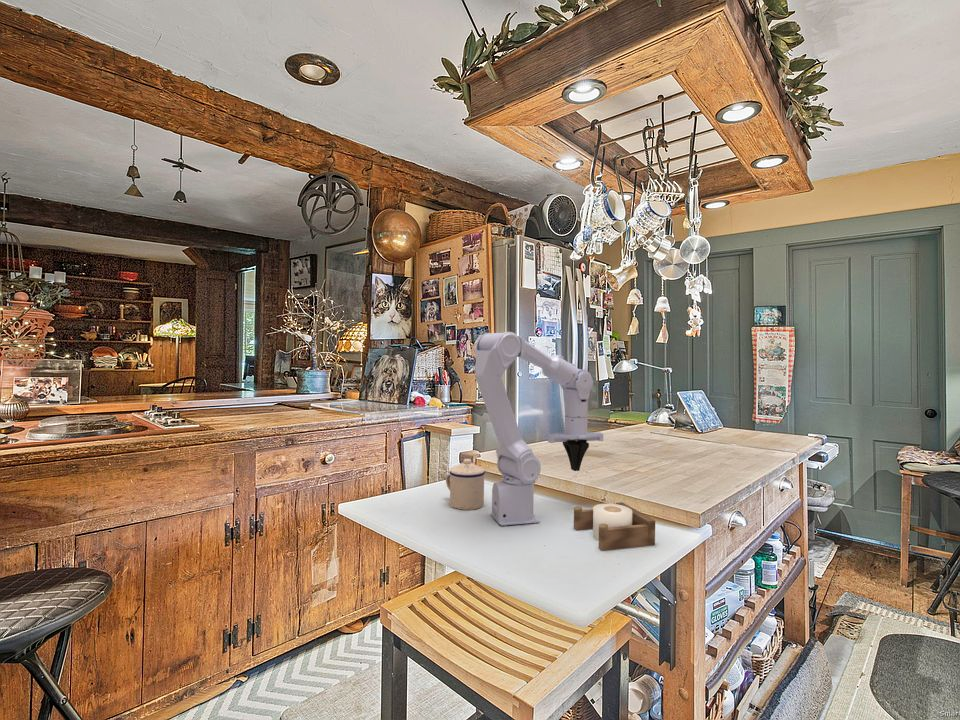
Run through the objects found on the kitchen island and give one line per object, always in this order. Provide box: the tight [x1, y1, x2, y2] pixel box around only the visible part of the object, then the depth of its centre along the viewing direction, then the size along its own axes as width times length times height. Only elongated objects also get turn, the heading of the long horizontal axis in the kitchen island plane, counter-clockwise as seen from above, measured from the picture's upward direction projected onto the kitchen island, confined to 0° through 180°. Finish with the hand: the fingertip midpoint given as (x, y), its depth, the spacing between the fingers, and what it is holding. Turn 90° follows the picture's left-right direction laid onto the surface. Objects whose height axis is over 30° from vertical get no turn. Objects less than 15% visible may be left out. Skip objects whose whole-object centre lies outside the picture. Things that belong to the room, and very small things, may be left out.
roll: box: [592, 503, 632, 542], centre depth 103 cm, size 8×8×6 cm
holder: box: [573, 501, 656, 552], centre depth 104 cm, size 12×13×5 cm
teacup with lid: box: [445, 458, 486, 511], centre depth 125 cm, size 12×9×12 cm
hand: (575, 470), depth 123 cm, fingers closed
